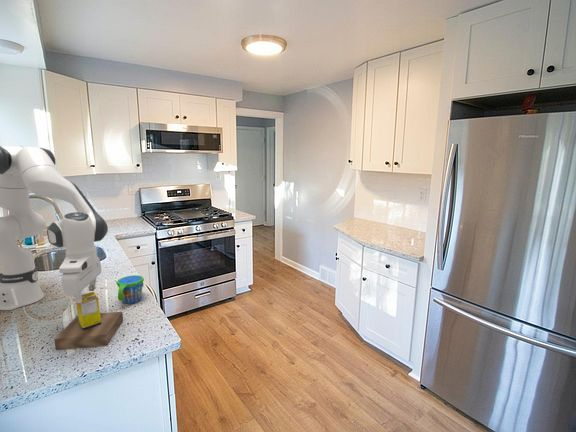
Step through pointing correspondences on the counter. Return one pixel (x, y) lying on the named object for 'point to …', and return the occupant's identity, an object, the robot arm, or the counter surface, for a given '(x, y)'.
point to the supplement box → (89, 311)
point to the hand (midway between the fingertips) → (86, 295)
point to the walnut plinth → (89, 332)
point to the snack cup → (130, 288)
